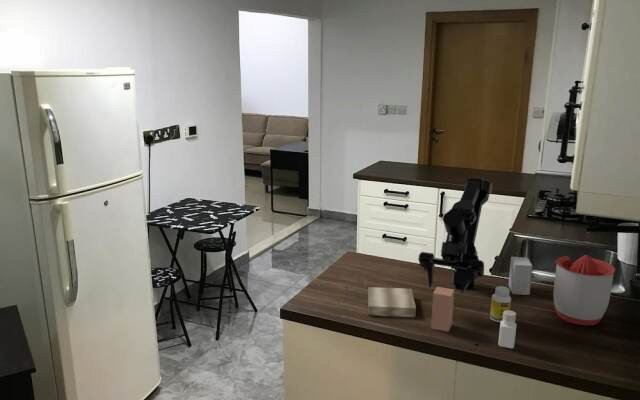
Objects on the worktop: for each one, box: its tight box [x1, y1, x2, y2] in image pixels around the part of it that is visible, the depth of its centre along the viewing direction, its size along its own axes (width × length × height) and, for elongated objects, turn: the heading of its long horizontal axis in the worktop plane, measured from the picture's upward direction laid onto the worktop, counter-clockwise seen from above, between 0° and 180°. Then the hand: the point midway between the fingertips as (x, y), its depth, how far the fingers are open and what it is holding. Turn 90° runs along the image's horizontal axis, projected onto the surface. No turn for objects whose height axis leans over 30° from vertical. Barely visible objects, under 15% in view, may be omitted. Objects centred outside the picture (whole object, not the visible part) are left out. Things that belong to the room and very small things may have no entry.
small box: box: [508, 256, 533, 296], centre depth 174 cm, size 8×6×10 cm
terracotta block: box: [430, 286, 455, 333], centre depth 149 cm, size 5×5×11 cm
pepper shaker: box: [497, 309, 517, 350], centre depth 139 cm, size 4×4×10 cm
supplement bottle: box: [489, 285, 512, 324], centre depth 153 cm, size 5×5×10 cm
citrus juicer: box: [552, 254, 616, 326], centre depth 154 cm, size 16×17×20 cm
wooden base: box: [367, 286, 417, 318], centre depth 162 cm, size 14×14×3 cm
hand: (445, 290), depth 150 cm, fingers open, 9 cm apart
